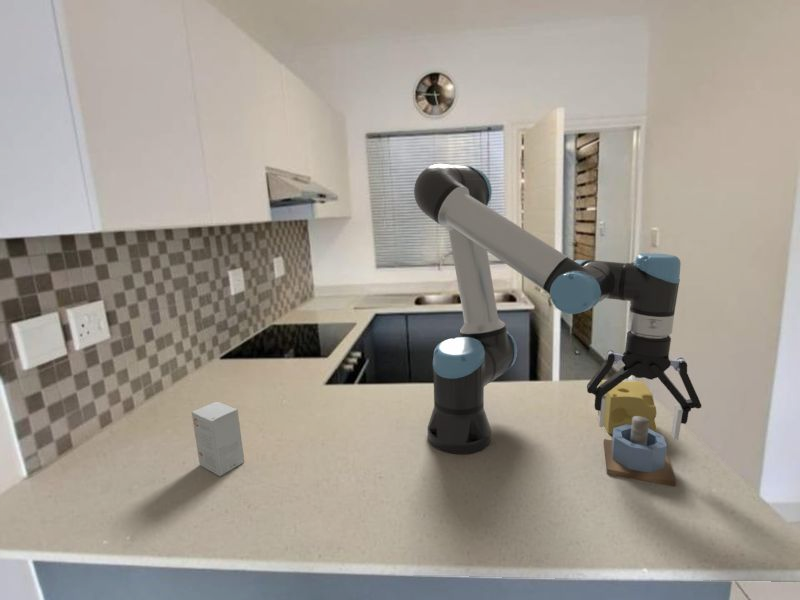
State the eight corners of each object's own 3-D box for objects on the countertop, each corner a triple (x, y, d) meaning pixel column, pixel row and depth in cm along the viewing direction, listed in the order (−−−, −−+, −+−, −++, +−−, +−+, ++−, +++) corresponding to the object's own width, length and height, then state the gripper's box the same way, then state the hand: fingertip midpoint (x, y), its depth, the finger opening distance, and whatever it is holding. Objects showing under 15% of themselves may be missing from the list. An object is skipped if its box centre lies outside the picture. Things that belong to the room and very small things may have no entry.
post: (606, 473, 86) (610, 428, 84) (603, 442, 97) (606, 402, 95) (675, 486, 82) (681, 439, 79) (664, 452, 92) (668, 410, 90)
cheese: (655, 438, 98) (659, 399, 96) (605, 435, 100) (608, 396, 98) (640, 417, 108) (643, 380, 106) (595, 414, 110) (597, 378, 108)
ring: (613, 466, 87) (615, 444, 86) (610, 442, 95) (612, 422, 94) (666, 475, 83) (669, 453, 82) (658, 450, 92) (661, 429, 90)
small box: (245, 462, 95) (238, 408, 92) (219, 477, 90) (211, 421, 87) (224, 451, 99) (217, 400, 96) (198, 465, 94) (190, 411, 91)
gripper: (580, 331, 84) (572, 427, 89) (732, 346, 75) (713, 452, 80) (580, 321, 91) (572, 411, 96) (719, 333, 82) (703, 432, 87)
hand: (636, 430), depth 88 cm, fingers open, 13 cm apart
